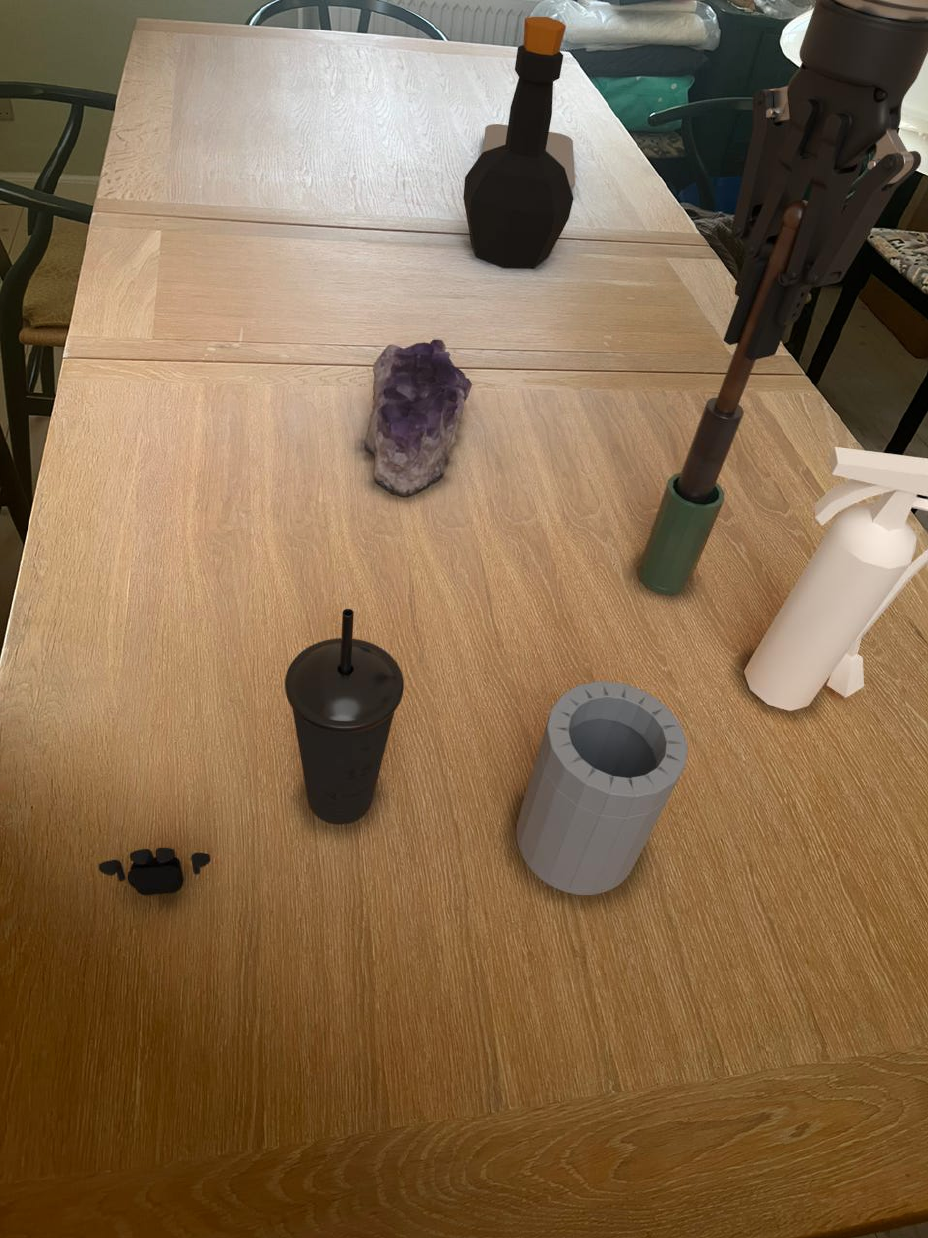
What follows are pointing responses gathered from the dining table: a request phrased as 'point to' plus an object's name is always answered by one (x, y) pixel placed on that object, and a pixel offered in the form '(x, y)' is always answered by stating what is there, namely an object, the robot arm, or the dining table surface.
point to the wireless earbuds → (154, 870)
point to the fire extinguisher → (843, 580)
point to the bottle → (522, 165)
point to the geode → (414, 415)
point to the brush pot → (677, 539)
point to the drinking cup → (343, 720)
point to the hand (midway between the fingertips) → (749, 346)
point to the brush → (734, 379)
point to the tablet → (556, 147)
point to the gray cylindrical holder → (598, 786)
